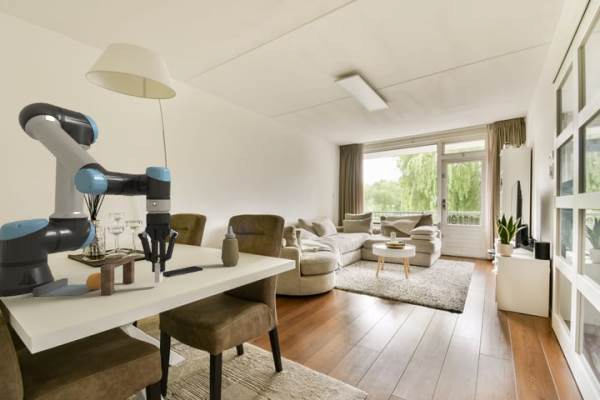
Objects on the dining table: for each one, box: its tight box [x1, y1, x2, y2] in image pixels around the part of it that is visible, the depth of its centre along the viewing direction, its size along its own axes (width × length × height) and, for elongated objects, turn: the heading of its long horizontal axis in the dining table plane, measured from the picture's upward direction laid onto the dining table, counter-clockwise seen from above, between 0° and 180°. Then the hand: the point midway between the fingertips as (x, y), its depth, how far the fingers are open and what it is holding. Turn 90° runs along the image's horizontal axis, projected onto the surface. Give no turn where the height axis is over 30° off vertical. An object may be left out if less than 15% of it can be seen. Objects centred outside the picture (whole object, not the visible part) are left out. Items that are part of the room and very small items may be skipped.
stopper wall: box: [32, 277, 69, 298], centre depth 92 cm, size 2×12×2 cm, turn 5°
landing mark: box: [39, 283, 93, 298], centre depth 92 cm, size 12×12×1 cm
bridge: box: [100, 256, 135, 297], centre depth 94 cm, size 3×14×9 cm, turn 5°
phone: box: [163, 265, 204, 278], centre depth 116 cm, size 8×1×15 cm
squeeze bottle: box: [220, 225, 240, 267], centre depth 127 cm, size 8×8×18 cm
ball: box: [85, 272, 101, 291], centre depth 93 cm, size 6×6×6 cm
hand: (158, 281), depth 95 cm, fingers closed
